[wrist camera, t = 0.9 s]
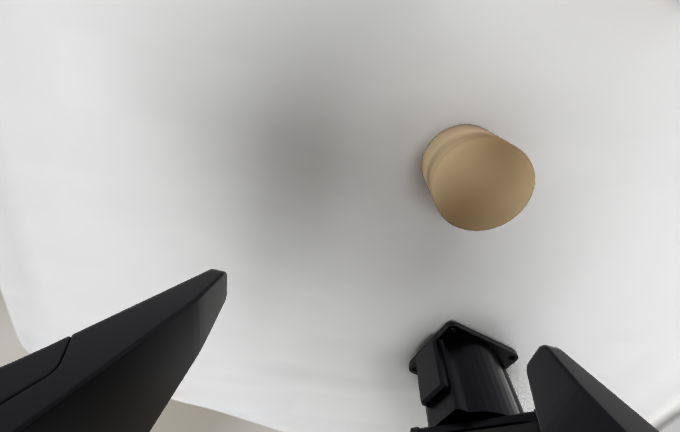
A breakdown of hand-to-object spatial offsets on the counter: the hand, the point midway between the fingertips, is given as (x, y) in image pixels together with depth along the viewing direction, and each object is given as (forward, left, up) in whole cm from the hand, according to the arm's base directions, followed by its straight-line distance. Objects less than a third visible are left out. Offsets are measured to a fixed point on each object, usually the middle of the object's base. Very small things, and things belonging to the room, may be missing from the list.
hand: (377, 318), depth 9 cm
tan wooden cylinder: (-4, -3, -12) cm, 13 cm away
